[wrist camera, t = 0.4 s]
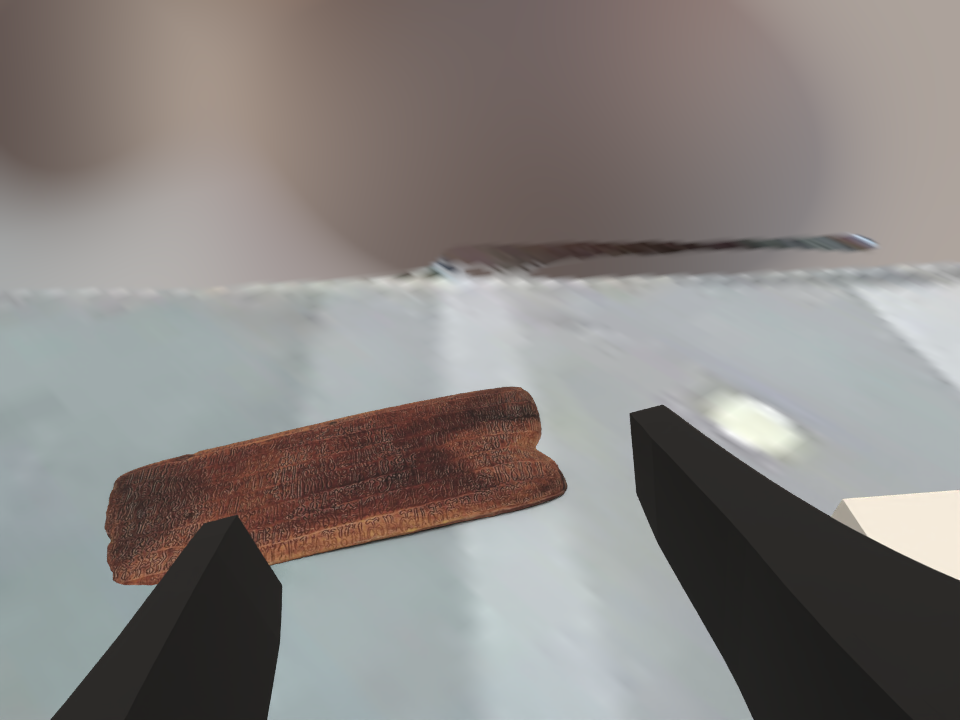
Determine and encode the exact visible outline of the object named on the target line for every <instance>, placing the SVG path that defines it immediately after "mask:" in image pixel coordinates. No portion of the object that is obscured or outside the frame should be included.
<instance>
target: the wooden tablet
mask: <svg viewBox="0 0 960 720" xmlns="http://www.w3.org/2000/svg"><path fill="white" fill-rule="evenodd" d="M540 438H541V422H540V417H539V413H538V410H537V407H536V404H535V402H534V400H533V398H532V397H531V395H530V394H529V393H528V392H527V391H525V390H523V389H522V388H521V387H502V388H495V389H487V390H480V391H473V392H468V393H460V394H456V395H450V396H445V397H440V398H435V399H430V400H424V401H419V402H414V403H409V404H404V405H400V406H396V407H389V408H385V409H380V410H375V411H370V412H365V413H361V414H357V415H352V416H348V417H344V418H339V419H335V420H331V421H327V422H323V423H319V424H315V425H310V426H305V427H301V428H296V429H292V430H288V431H284V432H280V433H276V434H272V435H268V436H263V437H259V438H255V439H251V440H247V441H242V442H237V443H233V444H229V445H226V446H221V447H216V448H212V449H207V450H203V451H199V452H197V453H195V454H192V455H190V454H187V455H183V456H180V457H176V458H172V459H168V460H163V461H160V462H157V463H153V464H149V465H146V466H143V467H140V468H138V469H135V470H132V471H130V472H127V473H125V474H123V475H122V476H120V477H119V478H118V479H117V480H116V481H115V483H114V487H113V490H112V492H111V494H110V498H109V505H108V509H107V512H106V522H105V530H106V532H107V535H108V537H109V538H110V539H111V542H110V544H109V545H108V547H107V562H108V564H109V566H110V569H111V571H112V572H113V580H114V581H115V582H116V583H119V584H123V585H155V584H158V583H159V582H160V580H161V579H162V578H163V576H164V575H165V574H166V572H167V571H168V570H169V568H170V567H171V566H172V564H173V563H174V561H175V560H176V559H177V557H178V556H179V555H180V553H181V552H182V551H183V549H184V548H185V547H186V545H187V544H188V543H189V541H190V540H191V539H192V538H193V536H194V535H195V534H196V532H197V531H198V530H199V529H200V528H201V526H202V525H203V524H204V523H207V522H211V521H215V520H219V519H222V518H226V517H230V516H234V515H238V517H239V518H240V520H241V521H242V523H243V525H244V526H245V528H246V529H247V531H248V532H249V534H250V536H251V537H252V539H253V540H254V542H255V543H256V545H257V547H258V548H259V550H260V551H261V553H262V555H263V556H264V558H265V559H266V561H267V562H268V564H269V566H270V565H274V564H278V563H283V562H287V561H290V560H293V559H297V558H302V557H306V556H311V555H314V554H317V553H323V552H328V551H332V550H335V549H340V548H344V547H349V546H353V545H358V544H363V543H367V542H371V541H375V540H380V539H385V538H390V537H395V536H400V535H406V534H410V533H414V532H418V531H421V530H426V529H431V528H435V527H441V526H445V525H449V524H454V523H458V522H463V521H468V520H473V519H478V518H484V517H490V516H495V515H498V514H502V513H507V512H512V511H516V510H520V509H524V508H527V507H530V506H534V505H537V504H541V503H543V502H546V501H549V500H552V499H554V498H556V497H559V496H560V495H562V494H564V492H565V490H566V489H567V483H566V480H565V478H564V476H563V474H562V472H561V471H560V469H559V468H558V465H557V464H556V463H555V461H553V460H552V459H551V458H550V457H548V456H546V455H545V454H543V453H541V452H540V451H538V450H537V449H536V445H537V444H538V442H539V439H540Z"/></svg>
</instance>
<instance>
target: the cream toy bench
mask: <svg viewBox="0 0 960 720" xmlns="http://www.w3.org/2000/svg"><path fill="white" fill-rule="evenodd" d="M831 517H832V518H834V519H836V520H837V521H839V522H841V523H843V524H845V525H847V526H848V527H850V528H852V529H854V530H856V531H858V532H860V533H862V534H864V535H865V536H867V537H869V538H871V539H873V540H875V541H877V542H879V543H881V544H883V545H885V546H887V547H889V548H891V549H893V550H895V551H897V552H899V553H901V554H903V555H905V556H907V557H909V558H911V559H913V560H915V561H918V562H920V563H922V564H924V565H926V566H928V567H930V568H933V569H935V570H937V571H939V572H942V573H944V574H946V575H949V576H951V577H953V578H955V579H958V580H960V490H954V491H941V492H928V493H915V494H902V495H889V496H876V497H863V498H850V499H842V501H841V502H840V504H839V505H838V507H837V508H836V510H835V511H834V513H833V514H832V516H831Z"/></svg>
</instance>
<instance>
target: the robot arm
mask: <svg viewBox="0 0 960 720" xmlns="http://www.w3.org/2000/svg"><path fill="white" fill-rule="evenodd" d="M630 424H631V436H632V447H633V459H634V471H635V482H636V493H637V496H638V498H639V501H640V503H641V505H642V508H643V510H644V513H645V515H646V517H647V520H648V522H649V524H650V527H651V529H652V531H653V533H654V536H655V538H656V540H657V542H658V544H659V546H660V548H661V550H662V552H663V553H664V555H665V557H666V559H667V561H668V562H669V564H670V566H671V568H672V569H673V571H674V573H675V575H676V576H677V578H678V580H679V582H680V583H681V585H682V587H683V589H684V590H685V592H686V594H687V596H688V597H689V599H690V601H691V602H692V604H693V606H694V608H695V609H696V611H697V613H698V615H699V616H700V618H701V620H702V622H703V623H704V625H705V627H706V629H707V630H708V632H709V634H710V636H711V637H712V639H713V641H714V642H715V644H716V646H717V648H718V649H719V651H720V653H721V655H722V656H723V658H724V660H725V662H726V664H727V666H728V668H729V670H730V671H731V673H732V675H733V677H734V679H735V681H736V683H737V685H738V687H739V689H740V691H741V693H742V696H743V698H744V700H745V702H746V704H747V706H748V708H749V711H750V713H751V715H752V717H753V719H754V720H960V580H958V579H955V578H953V577H951V576H949V575H946V574H944V573H942V572H939V571H937V570H935V569H933V568H930V567H928V566H926V565H924V564H922V563H920V562H918V561H915V560H913V559H911V558H909V557H907V556H905V555H903V554H901V553H899V552H897V551H895V550H893V549H891V548H889V547H887V546H885V545H883V544H881V543H879V542H877V541H875V540H873V539H871V538H869V537H867V536H865V535H864V534H862V533H860V532H858V531H856V530H854V529H852V528H850V527H848V526H847V525H845V524H843V523H841V522H839V521H837V520H836V519H834V518H832V517H830V516H829V515H827V514H825V513H823V512H822V511H820V510H818V509H817V508H815V507H813V506H812V505H810V504H808V503H807V502H805V501H803V500H802V499H800V498H798V497H797V496H795V495H793V494H792V493H790V492H788V491H787V490H785V489H784V488H782V487H780V486H779V485H777V484H776V483H774V482H773V481H771V480H769V479H768V478H766V477H765V476H763V475H762V474H760V473H759V472H757V471H756V470H754V469H753V468H751V467H750V466H748V465H747V464H745V463H744V462H742V461H741V460H739V459H738V458H736V457H735V456H734V455H732V454H731V453H729V452H728V451H726V450H725V449H724V448H722V447H721V446H719V445H718V444H717V443H715V442H714V441H712V440H711V439H710V438H708V437H707V436H705V435H704V434H703V433H701V432H700V431H699V430H697V429H696V428H694V427H693V426H692V425H690V424H689V423H688V422H686V421H685V420H684V419H682V418H681V417H680V416H678V415H677V414H676V413H674V412H673V411H671V410H670V409H669V408H667V407H666V406H664V405H660V406H656V407H652V408H648V409H644V410H640V411H636V412H632V413H630ZM281 611H282V584H281V583H280V581H279V580H278V578H277V577H276V575H275V573H274V572H273V570H272V569H271V567H270V566H269V564H268V562H267V561H266V559H265V558H264V556H263V555H262V553H261V551H260V550H259V548H258V547H257V545H256V543H255V542H254V540H253V539H252V537H251V536H250V534H249V532H248V531H247V529H246V528H245V526H244V525H243V523H242V521H241V520H240V518H239V517H238V515H234V516H230V517H226V518H222V519H219V520H215V521H211V522H207V523H204V524H203V525H202V526H201V528H200V529H199V530H198V531H197V532H196V534H195V535H194V536H193V538H192V539H191V540H190V541H189V543H188V544H187V545H186V547H185V548H184V549H183V551H182V552H181V553H180V555H179V556H178V557H177V559H176V560H175V561H174V563H173V564H172V566H171V567H170V568H169V570H168V571H167V572H166V574H165V575H164V576H163V578H162V579H161V580H160V582H159V583H158V584H157V586H156V587H155V589H154V590H153V591H152V593H151V594H150V595H149V596H148V598H147V599H146V600H145V602H144V603H143V604H142V606H141V607H140V608H139V610H138V611H137V612H136V614H135V615H134V616H133V618H132V619H131V620H130V622H129V623H128V624H127V626H126V627H125V628H124V630H123V631H122V632H121V634H120V635H119V636H118V637H117V639H116V640H115V641H114V643H113V644H112V645H111V646H110V648H109V649H108V650H107V651H106V652H105V654H104V655H103V656H102V657H101V659H100V660H99V661H98V662H97V664H96V665H95V666H94V667H93V669H92V670H91V671H90V672H89V674H88V675H87V676H86V677H85V678H84V680H83V681H82V682H81V683H80V685H79V686H78V687H77V688H76V690H75V691H74V692H73V693H72V695H71V696H70V697H69V698H68V699H67V701H66V702H65V703H64V704H63V706H62V707H61V708H60V709H59V710H58V711H57V713H56V714H55V715H54V716H53V717H52V718H51V720H267V717H268V711H269V705H270V700H271V694H272V688H273V682H274V676H275V670H276V664H277V658H278V651H279V645H280V631H281Z"/></svg>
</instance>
